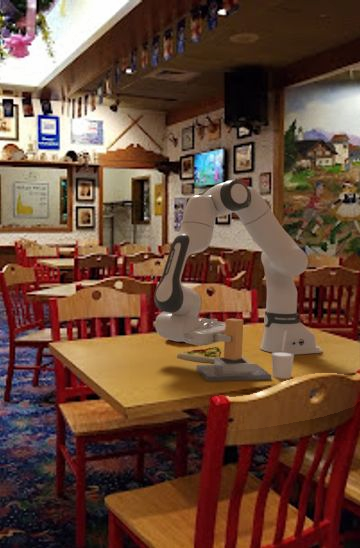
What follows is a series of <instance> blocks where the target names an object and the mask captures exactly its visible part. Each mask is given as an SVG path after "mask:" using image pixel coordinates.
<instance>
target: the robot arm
mask: <svg viewBox="0 0 360 548" xmlns="http://www.w3.org/2000/svg"><path fill="white" fill-rule="evenodd" d="M185 206H186V207H185V209H184V212H183V214H182V219H181V224H180V229H179V232H178V234H177V236H176V237H175V238H174V240H173V241H172V243H171V246H170V248H169V252H168V255H167V259H166V262H165V266H164V269H163V272H162V274H161V275H162V276H161V278H160V280H159V282H158V283H157V286H156V288H155V290H154V296H153V298H154V299H153V300H154V303H155V305H156V307H157V308H158V310H160V311H161V313H160V314H158V315H157V316H156V317H155V322H154V327H155V331H156V332H157V334H158V335H159V336H160V337H161V338H164V339H166V340H170V341H172V340H173V341H174V342H176V341H178V342H177V343H179V342H180V341H181V342H185V343H186V344H189V345H194V346H200V347H201V346H209V345H212V344H216V343H219V342H225V341H226V342H231V341H233V336H230V335H225V322H226V321H218V319H217V318H204V317H200V316H199V315H200V311H201V308H202V296H201V295H200V293H199V292H198V291H196V290H194V289H193V288H192V289H191V288H190V287H189V286H188V287H187V286H185V285H183V284H182V275H183V274H184V269H185V266H186V262H187V261H188V260H187V259H188V257H189V256H190V255H192V254H198V253H202V252H204V251H205V250H206V249H208V248H209V247H210V245H211V243H212V239H213V234H214V228H215V221H216V219H217V218H219V217H225V216H228V215H230V214H233V213H234V214H236V215H237V216H238V218H239V220H240V222H241V223H242V225H243V227H244V228H245V229H246V231H247V233H248V234H249V236H250V237H251V239H252V241H253V242H254V243H255V244H256V245H257V246H258V247H259V249H260V250H262V252H261V254H260V261H261V263H262V266H263V270H264V277H265V285H266V286H265V287H266V305H265V306H266V307H265V308H266V309H265V311H264V317H263V318H264V319H263V320H264V321H263V322H264V324H263V325H264V330H263V336H262V340H261V345H260V348H259V349H260V350H262V351H265V352H269V353H274V352H286V353H291V354H293V355H294V356H295V355H305V354H321V353H322V352H323V351H322V349H323V348H321V347H320V346H319V345H317V342H316V340H317V339H316V336H315V334H314V333H313V331H311V329H309V328H307V327H306V326H305V325H304V324H303V323H302V321H305V320H306V318H307V317H306V315H305V314H303V313H302V314H300V313H299V312H297V309H298V308H297V307H298V305H297V304H298V290H297V287H296V284H295V279H294V277H295V276H298V275H302V274H303V273H304V272H305V271H306V269H307V267H308V265H309V259H308V256H307V253H306V252H305V251H304V250H303V249H301V248H300V247H299V245H298V244H297V243H296V242H295V240H294V239H293V238H292V237H291V236H290V235H289V233H288V232H287V231H286V230H285V229H284V228H283V227H282V225H281V223H280V222H279V220H278V219H277V218H276V216H275V215H274V213H273V211H272V209H271V208H270V207H269V205H268V203H267V202H266V201H265V199H264V197H262V196H261V194H260V193H259V192H258V190H256V189H255V188H254V187H252V186H247V185H246V184H245V183H244V182H242V181H241V180H236V179H231V180H226V181H225V182H220V183H218V184H216V185H214V186H212V187H211V188H208V189H205V190H204V191H203V192H202V193H201V194H197V195H194V196H192V197H190V198H189V199H188V201H187V204H186V205H185ZM173 341H172V342H173Z"/></svg>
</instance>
